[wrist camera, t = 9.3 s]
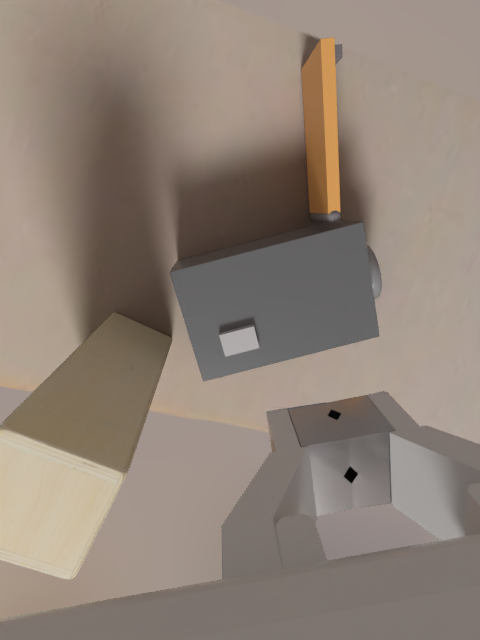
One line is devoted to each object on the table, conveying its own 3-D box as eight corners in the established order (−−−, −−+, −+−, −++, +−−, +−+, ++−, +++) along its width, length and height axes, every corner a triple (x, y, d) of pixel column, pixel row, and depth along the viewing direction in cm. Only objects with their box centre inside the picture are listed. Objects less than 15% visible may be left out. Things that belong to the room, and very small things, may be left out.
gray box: (350, 215, 36) (385, 217, 29) (364, 310, 39) (399, 334, 32) (177, 260, 36) (168, 273, 29) (205, 351, 39) (203, 384, 32)
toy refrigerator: (107, 305, 37) (-19, 421, 17) (174, 336, 38) (131, 475, 18) (78, 371, 39) (-65, 545, 19) (143, 397, 40) (74, 586, 20)
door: (328, 218, 36) (350, 221, 30) (310, 221, 36) (328, 223, 30) (321, 67, 32) (345, 36, 26) (301, 69, 32) (320, 39, 26)
